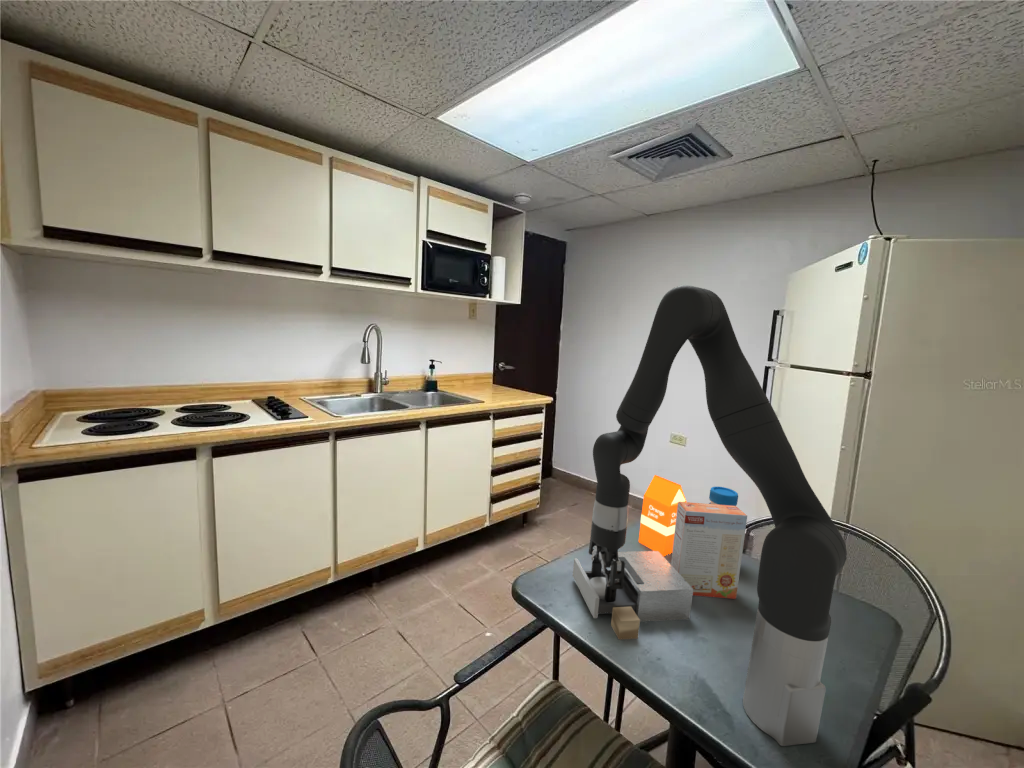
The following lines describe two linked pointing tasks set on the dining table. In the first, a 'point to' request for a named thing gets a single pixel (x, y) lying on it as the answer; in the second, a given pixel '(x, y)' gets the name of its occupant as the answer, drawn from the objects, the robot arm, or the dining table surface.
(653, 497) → the orange juice
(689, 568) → the cracker box
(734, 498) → the beverage bottle
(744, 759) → the dining table surface
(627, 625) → the tan block
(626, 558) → the block
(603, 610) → the grey drawer
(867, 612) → the dining table surface
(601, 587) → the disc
